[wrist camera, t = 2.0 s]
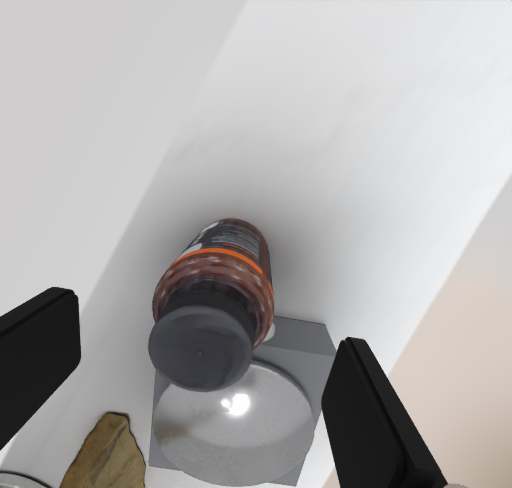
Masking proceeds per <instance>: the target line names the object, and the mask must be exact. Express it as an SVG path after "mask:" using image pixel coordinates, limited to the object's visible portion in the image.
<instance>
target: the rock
mask: <svg viewBox="0 0 512 488" xmlns="http://www.w3.org/2000/svg"><path fill="white" fill-rule="evenodd" d="M135 442H136V441H135V440H134V438H133V436H132V435H131V434H130V432H129V423H128V421H127V419H126V417H124V416H119V415H114V414H110V413H107V414H105V415H103V417H102V418H101V419H100V420H99V421H98V422H97V423H96V426H95V428H94V429H93V430H92V431H91V432H90V433H89V435H88V436H87V437H86V439H85V441H84V443H83V445H82V447H81V449H80V450H79V452H78V454H77V456H76V458H75V459H74V461H73V462H72V464H71V465H70V466H69V468H68V470H67V472H66V474H65V475H64V478H63V480H62V482H61V485H60V487H59V488H145V485H143V482H144V474H145V469H146V466H145V464H144V462H143V457H142V455H141V453H140V450H139V449H138V448H137V446H136V443H135Z"/></svg>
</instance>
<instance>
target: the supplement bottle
mask: <svg viewBox="0 0 512 488" xmlns="http://www.w3.org/2000/svg"><path fill="white" fill-rule="evenodd" d="M152 303H153V304H152V310H153V317H154V320H155V326H154V327H153V329H152V332H151V334H150V337H149V346H148V349H149V355H150V358H151V360H152V363H153V365H154V367H155V368H156V370H157V371H158V372H159V373H160V374H161V375H162V376H163V377H164V378H165V379H166V380H167V381H168V382H170V383H172V384H174V385H175V386H177V387H179V388H182V389H186V390H188V391H195V392H205V393H207V392H214V391H219V390H223V389H225V388H227V387H229V386H232V385H233V384H234V383H236V382H237V381H239V380H240V379H241V378H242V377H243V375H244V374H245V373H246V372H247V370H248V368H249V366H250V363H251V360H252V354H253V351H254V350H255V349H256V348H257V347H258V346H260V344H261V343H262V342H263V341H264V339H265V338H266V336H267V334H268V332H269V330H270V328H271V325H272V321H273V314H274V298H273V288H272V278H271V268H270V258H269V251H268V247H267V244H266V242H265V240H264V238H263V236H262V235H261V233H260V232H259V231H258V230H257V229H256V228H255V227H253V226H252V225H250V224H248V223H246V222H244V221H241V220H236V219H224V220H220V221H216V222H214V223H212V224H211V225H209V226H207V227H206V228H205V229H204V230H203V231H202V232H201V233H199V235H198V236H197V237H196V238H195V239H194V240H193V242H192V243H191V244H190V245H189V246H188V247H187V248H186V249H185V250H184V252H183V253H182V254H181V255H180V256H179V257H178V258H177V259H176V261H175V262H174V263H173V264H172V265H171V266H170V268H169V269H168V270H167V271H166V272H165V274H164V275H163V276H162V278H161V280H160V281H159V283H158V285H157V287H156V289H155V292H154V297H153V301H152Z"/></svg>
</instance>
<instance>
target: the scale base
mask: <svg viewBox="0 0 512 488" xmlns="http://www.w3.org/2000/svg"><path fill="white" fill-rule="evenodd" d="M336 353H337V352H336V350H335V347H334V345H333V343H332V340H331V338H330V335H329V333H328V331H327V328H326V326H325V324H319V323H313V322H307V321H301V320H295V319H288V318H282V317H276V316H273V321H272V325H271V328H270V330H269V332H268V334H267V336H266V338H265V339H264V341H263V342H262V343H261V344H260V346H258V347H257V348H256V349H255V350H254V351H253V354H252V360H255V361H259V362H262V363H265V364H268V365H270V366H273V367H275V368H277V369H279V370H280V371H282V372H284V373H285V374H287V375H288V376H289V377H291V378H292V379H293V380H294V381H295V382H296V383H297V384H298V385H299V386H300V387H301V389H302V390H303V392H304V393H305V394H306V397H307V399H308V401H309V403H310V407H311V410H312V415H313V419H314V427H315V428H316V425H317V422H318V419H319V416H320V413H321V410H322V407H321V397H322V394H323V391H324V388H325V385H326V382H327V379H328V376H329V373H330V370H331V368H332V365H333V362H334V359H335V356H336ZM169 383H170V382H168V381H167V380H166V379H165V378H164V377H163V376H162V375H161V374H160V373H159V372H158V371H157V370H156V375H155V388H154V401H153V414H152V427H151V440H150V453H149V466H151V467H159V468H166V469H173V470H180V469H179V468H177V467H176V466H175V465H174V464H173V463H172V462H171V461H170V460H169V459H168V458H167V457H166V456H165V455H164V453H163V452H162V451H161V449H160V447H159V445H158V443H157V441H156V438H155V434H154V429H153V419H154V413H155V410H156V407H157V405H158V402H159V400H160V398H161V395H162V393H163V392H164V390H165V388H166V387H167V386H168V384H169ZM314 431H315V429H314ZM305 458H306V456H305ZM305 458H304V459H303V460H302V461H301V462H300V464H298V465H297V466H296V467H295V468H294V469H293V470H291V471H290V472H288V473H287V474H285V475H283V476H281V477H279V478H277V479H275V480H272V481H270V482H267V483H274V484H282V485H289V486H296V485H297V482H298V479H299V476H300V473H301V470H302V467H303V464H304V461H305ZM180 471H182V470H180Z"/></svg>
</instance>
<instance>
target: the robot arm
mask: <svg viewBox="0 0 512 488" xmlns="http://www.w3.org/2000/svg"><path fill="white" fill-rule="evenodd" d="M80 360H81V345H80V324H79V304H78V297H77V295H75V294H74V292H73V290H70V289H64V288H59V287H51V288H49V289H47V290H45V291H44V292H42V293H40V294H39V295H37V296H35V297H33V298H32V299H30V300H28V301H27V302H25V303H23V304H22V305H20V306H18V307H16V308H15V309H13V310H11V311H9V312H8V313H6V314H4V315H2V316H1V317H0V450H1V449H2V448H3V447H4V446H5V445H6V444H7V443H8V442H9V441H10V440H11V438H12V437H13V436H14V435H15V434H16V433H17V432H18V431H19V430H20V429H21V428H22V427H23V425H24V424H25V423H26V422H27V421H28V420H29V419H30V418H31V417H32V416H33V415H34V413H35V412H36V411H37V410H38V409H39V408H40V407H41V406H42V405H43V404H44V403H45V401H46V400H47V399H48V398H49V397H50V396H51V395H52V394H53V393H54V392H55V391H56V390H57V388H58V387H59V386H60V385H61V384H62V383H63V382H64V381H65V380H66V379H67V378H68V376H69V375H70V374H71V373H72V372H73V371H74V370H75V369H76V368H77V366H78V364H79V362H80ZM321 407H322V412H323V416H324V420H325V424H326V429H327V433H328V437H329V441H330V446H331V450H332V454H333V458H334V462H335V467H336V471H337V475H338V479H339V483H340V488H468V487H465V486H463V485H460V484H448V483H447V481H446V479H445V478H444V476H443V474H442V473H441V470H440V468H439V466H438V465H437V463H436V462H435V460H434V458H433V456H432V454H431V453H430V451H429V449H428V447H427V446H426V444H425V442H424V441H423V439H422V437H421V435H420V434H419V432H418V430H417V428H416V427H415V425H414V423H413V421H412V420H411V418H410V416H409V415H408V413H407V411H406V409H405V408H404V406H403V404H402V403H401V401H400V399H399V397H398V396H397V394H396V392H395V390H394V389H393V387H392V385H391V384H390V382H389V380H388V378H387V377H386V375H385V373H384V371H383V370H382V368H381V366H380V364H379V363H378V361H377V359H376V357H375V356H374V354H373V352H372V351H371V349H370V347H369V345H368V344H367V342H366V341H365V340H364V339H358V338H352V337H347V338H346V339H345V340H342V341H341V342H340V344H339V347H338V350H337V353H336V356H335V359H334V362H333V365H332V368H331V370H330V373H329V376H328V379H327V382H326V385H325V388H324V391H323V394H322V397H321ZM0 488H47V487H45V486H43V485H41V484H40V483H38V482H36V481H33V480H31V479H28V478H25V477H22V476H18V475H13V474H7V473H0Z"/></svg>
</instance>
